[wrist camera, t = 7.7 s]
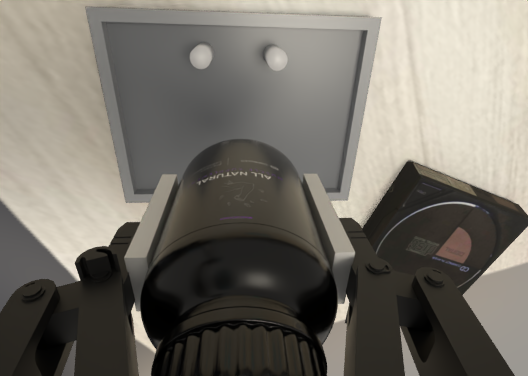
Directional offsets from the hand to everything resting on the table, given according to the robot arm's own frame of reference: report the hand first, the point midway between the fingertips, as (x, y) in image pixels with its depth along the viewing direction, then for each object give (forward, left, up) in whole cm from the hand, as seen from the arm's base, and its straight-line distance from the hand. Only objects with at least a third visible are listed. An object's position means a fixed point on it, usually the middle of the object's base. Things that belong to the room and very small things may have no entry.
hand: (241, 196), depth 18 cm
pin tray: (0, 0, -17) cm, 17 cm away
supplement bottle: (0, 0, -1) cm, 1 cm away
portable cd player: (+24, -16, -18) cm, 34 cm away
